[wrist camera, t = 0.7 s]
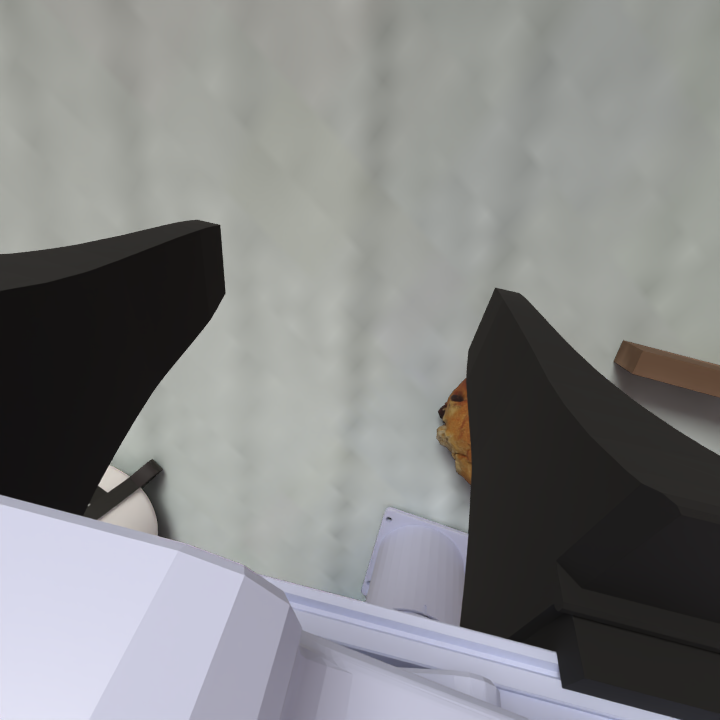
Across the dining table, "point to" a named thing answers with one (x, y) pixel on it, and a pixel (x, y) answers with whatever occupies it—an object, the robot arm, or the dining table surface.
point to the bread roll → (457, 430)
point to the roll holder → (670, 368)
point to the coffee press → (125, 499)
